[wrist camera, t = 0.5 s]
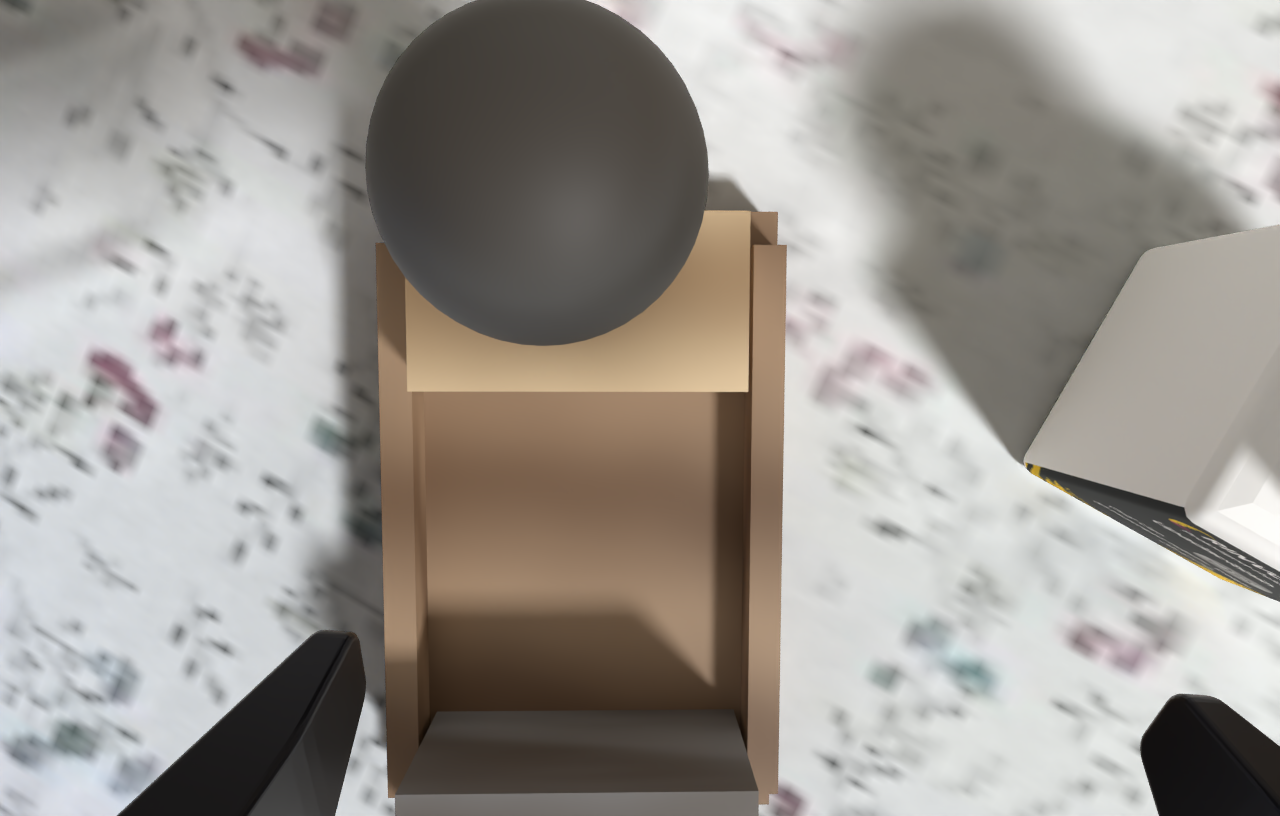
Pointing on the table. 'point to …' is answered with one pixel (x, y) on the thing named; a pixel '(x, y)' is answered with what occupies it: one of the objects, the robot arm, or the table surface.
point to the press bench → (584, 585)
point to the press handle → (554, 209)
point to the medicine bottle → (1183, 408)
